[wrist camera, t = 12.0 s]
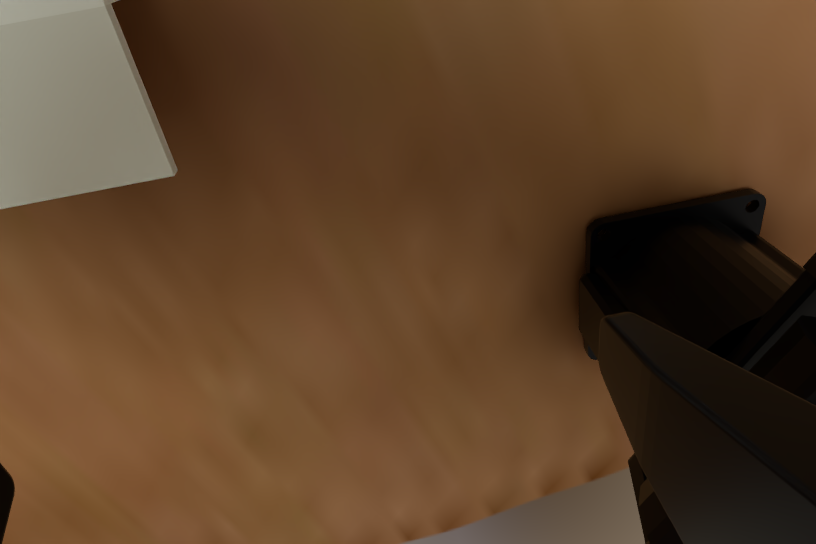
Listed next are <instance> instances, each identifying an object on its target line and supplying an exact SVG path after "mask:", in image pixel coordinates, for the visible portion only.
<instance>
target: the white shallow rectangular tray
mask: <svg viewBox="0 0 816 544" xmlns="http://www.w3.org/2000/svg"><path fill="white" fill-rule="evenodd" d="M116 1H119V0H0V209H4V208H10V207H15V206H20V205H25V204H31V203H36V202H41V201H46V200H51V199H57V198H62V197H67V196H72V195H78V194H83V193H88V192H93V191H98V190H104V189H109V188H114V187H119V186H124V185H130V184H135V183H140V182H145V181H151V180H156V179H161V178H166V177H171V176H175V174H176V172H177V171H178V169H177V167H176V164H175V162H174V159H173V157H172V154H171V152H170V149H169V147H168V144H167V142H166V139H165V137H164V134H163V132H162V129H161V127H160V124H159V122H158V119H157V117H156V114H155V112H154V109H153V107H152V104H151V102H150V99H149V97H148V94H147V92H146V89H145V87H144V84H143V82H142V79H141V77H140V74H139V72H138V69H137V67H136V64H135V62H134V60H133V57H132V55H131V52H130V50H129V47H128V45H127V42H126V40H125V37H124V35H123V32H122V30H121V27H120V25H119V22H118V20H117V17H116V15H115V12H114V10H113V7H112V5H111V3H114V2H116Z"/></svg>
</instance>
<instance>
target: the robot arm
mask: <svg viewBox="0 0 816 544" xmlns="http://www.w3.org/2000/svg"><path fill="white" fill-rule="evenodd" d="M750 201H752V202H751V204H750V205H749V206H748V207H746V205H747V204H748V203H749V202H750ZM765 205H766V199H765V197H764V195H762V194H760V193H759V192H757V191H755V190H753V189H747V190H741V191H736V192H731V193H726V194H721V195H716V196H711V197H706V198H701V199H696V200H690V201H685V202H680V203H675V204H670V205H665V206H660V207H655V208H650V209H645V210H639V211H634V212H629V213H624V214H619V215H614V216H609V217H604V218H599V219H597V220H594V221H593V222H592V223H591V224H590V225H589V227H588V228H587V232H586V273H585V274H583V275H582V277H581V279H580V281H579V330H580V332H581V333H582V335H583V337H584V348H585V351H586V353H587V354H588V356H589V357H590V358H591V359H594V360H598V361H599V366H600V370H601V374H602V376H603V379H604V381H605V383H606V386H607V388H608V391H609V393H610V395H611V398H612V400H613V402H614V405H615V407H616V410H617V412H618V414H619V417H620V419H621V421H622V424H623V426H624V429H625V431H626V433H627V436H628V438H629V440H630V443H631V445H632V448H633V450H634V452H635V453H634V454H633V455H632V456H631V457H630V459H629V460H628V464H629V468H630V473H631V477H632V482H633V487H634V491H635V496H636V501H637V505H638V510H639V515H640V519H641V524H642V529H643V534H644V538H645V544H816V253H815V254H814V255H813V256H812V257H811V258H810V259H809V261H808V262H807V263H806V264H805V265H804V266H803V268H804V269H803V268H802V267H801V266H799V265H798V264H797V263H795V262H794V261H793V260H791V259H790V258H789V257H787V256H786V255H785V254H783V253H782V252H780V251H779V250H778V249H776V248H775V247H774V246H772V245H771V244H770V243H768V242H767V241H766V240H764V239H763V238H762V237H760V236H759V234H760V229H761V224H762V219H763V215H764V210H765ZM604 229H606V232H605V233H604V234H603V235H601V236H598V233H599V232H600V231H601V230H604ZM14 491H15V487H14V481H13V479H12V477H11V475H10V474H9V473H8V472H7V470H6V469H5V468H4V467H3V466H2V464H1V463H0V544H2V541H3V537H4V533H5V529H6V525H7V521H8V517H9V513H10V509H11V505H12V501H13V497H14Z"/></svg>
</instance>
